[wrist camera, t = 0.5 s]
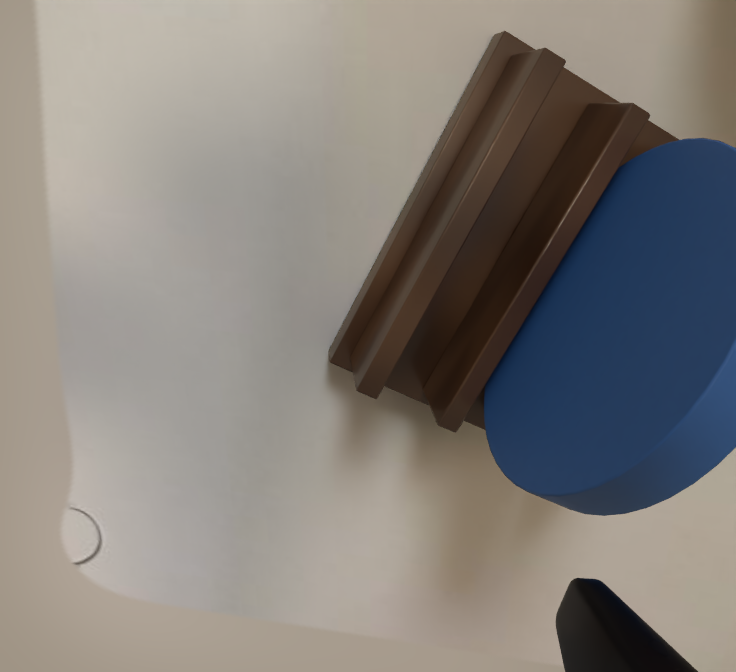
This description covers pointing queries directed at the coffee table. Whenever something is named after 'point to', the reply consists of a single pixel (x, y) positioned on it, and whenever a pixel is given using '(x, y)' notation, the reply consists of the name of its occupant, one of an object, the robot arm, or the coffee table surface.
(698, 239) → the disc
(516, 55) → the rack
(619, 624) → the robot arm
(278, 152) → the coffee table surface
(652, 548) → the coffee table surface
